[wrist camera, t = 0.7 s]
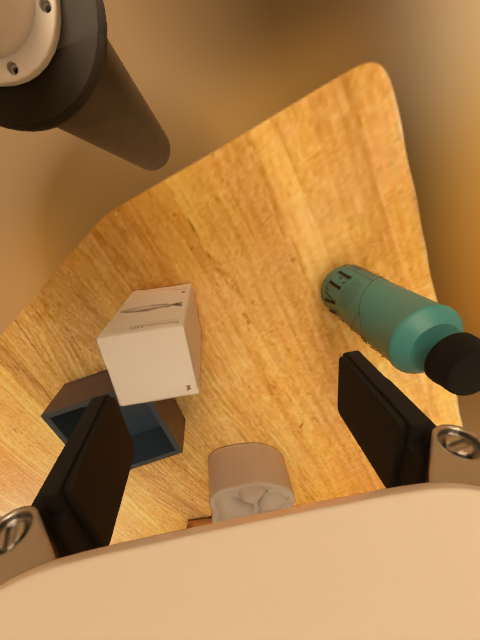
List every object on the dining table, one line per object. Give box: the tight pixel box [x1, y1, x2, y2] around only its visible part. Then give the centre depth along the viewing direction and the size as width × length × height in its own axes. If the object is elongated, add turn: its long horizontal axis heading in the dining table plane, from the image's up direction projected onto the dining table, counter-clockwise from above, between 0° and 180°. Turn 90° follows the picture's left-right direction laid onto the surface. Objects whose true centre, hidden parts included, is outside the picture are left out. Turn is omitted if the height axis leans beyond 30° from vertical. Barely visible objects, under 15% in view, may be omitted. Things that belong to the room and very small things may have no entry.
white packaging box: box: [96, 283, 202, 406], centre depth 29 cm, size 7×7×13 cm
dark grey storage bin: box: [41, 370, 185, 469], centre depth 37 cm, size 12×12×6 cm
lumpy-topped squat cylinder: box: [209, 443, 295, 523], centre depth 44 cm, size 10×13×9 cm
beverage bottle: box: [321, 264, 480, 396], centre depth 27 cm, size 6×7×20 cm
